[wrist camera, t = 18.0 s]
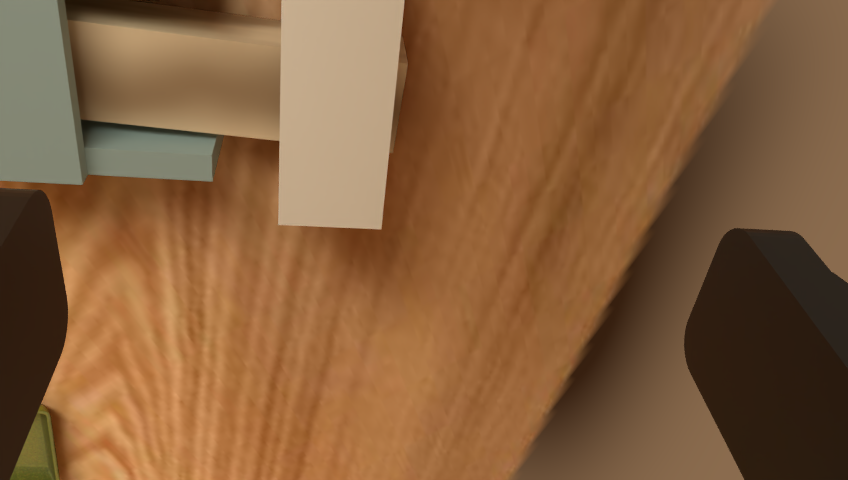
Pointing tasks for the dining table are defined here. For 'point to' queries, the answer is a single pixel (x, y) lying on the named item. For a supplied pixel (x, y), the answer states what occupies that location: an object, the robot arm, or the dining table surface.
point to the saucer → (38, 451)
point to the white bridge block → (336, 110)
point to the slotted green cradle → (75, 114)
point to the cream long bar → (182, 68)
